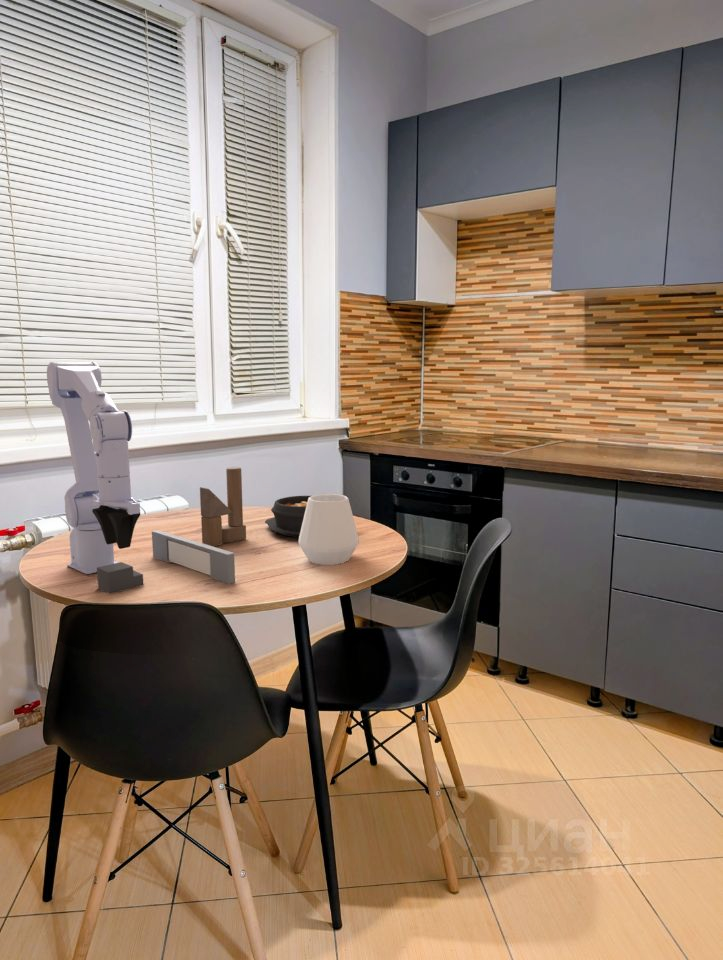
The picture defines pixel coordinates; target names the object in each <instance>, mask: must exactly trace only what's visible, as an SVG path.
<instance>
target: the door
mask: <svg viewBox="0 0 723 960" xmlns="http://www.w3.org/2000/svg"><path fill="white" fill-rule="evenodd" d="M168 548H169V561H171V563H174V564H177V565H180V566H183V567H185V568H188V569H192V570H195V571H198V572H200V573H203V574H205V575H207V576H208V575H209V576H211V566H210V552H208V551H205V550H202V549H199V548H195V547H192V546H189V545H186V544H183V543H179V542H176V541H173V540H168Z"/></svg>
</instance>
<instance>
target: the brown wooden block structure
mask: <svg viewBox="0 0 723 960" xmlns="http://www.w3.org/2000/svg"><path fill="white" fill-rule="evenodd" d="M225 471H226V495H227V496H226V497H227V498H226V499H227V500H226V502H227V505H226V504H225V502H223V501H222V500H221V499H220V498H219V497H218V496H217V495H216V494H214V492H213V491H211V490H210V489H209V488H206V487H199V499H200V503H199V505H200V516H201V517H200V518H201V520H200V521H201V541H202V542H201V543H203V544H206V545H209V546H213V547H217V546H222V545H223V544H232V543H235V542H239V541H242V540H246V539H247V525H245V524H243V523H244V515H243V485H242V478H243V477H242V467H240V466H231V467H230V466H229V467H227V468H226V470H225ZM226 515H227V525H223V523H222V518H223V517H222V516H226Z"/></svg>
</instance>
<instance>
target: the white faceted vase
mask: <svg viewBox="0 0 723 960" xmlns="http://www.w3.org/2000/svg"><path fill="white" fill-rule="evenodd" d="M310 496H311V497H309V498H308V502H307V506H306V510H305V514H304V518H303V523H302V527H301V531H300V535H299V537H298V541H297V542H298V545H299V547H300V549H301V550H302V552H303V554H304V555H305V557H306V558H307V560H308V562H309V563H313V564H315V565H322V566H335V564H336V565H341V564H345V563H347V562H348V561H349V560H350V559H351V557H352V556H353V553H354V552H355V550H356V549H357V548H358V545H359V543H360V539H359V535H358V531H357V526H356V523H355V518H354V515H353V511H352V507H351V504H350V500H349V497H347V496H346V495H343V494H337V493H336V494H335V493H324V494H323V493H321V494H314V495H310ZM346 561H347V562H346ZM344 562H345V563H344ZM340 563H341V564H340Z"/></svg>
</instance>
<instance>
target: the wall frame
mask: <svg viewBox="0 0 723 960" xmlns="http://www.w3.org/2000/svg"><path fill="white" fill-rule="evenodd" d="M168 540H173V541H176V542H179V543H183V544H186V545H189V546H192V547H195V548H199V549H202V550H205V551H208V552H210V566H211V575H210V578H211V579H212V580H216V581H219V582H221V583H224V584H227V585H231V584H234V583H236V569H235V568H236V566H235V553H234V552H231V551H228V550H225V549H223V548H219V547H217V546H215V547H213V546H209V545H206V544H203V543H202V542H199V541H196V540H193V539H189V538H185V537H183V536H179V535H176V534H172V533H170V532H166V531H163V530H160V529H156V530H152V531H151V543H152V557H153V558H154V559H157V560H160V561H162V562H165V563H170V562H171V561H169V548H168ZM171 563H172V562H171Z"/></svg>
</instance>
